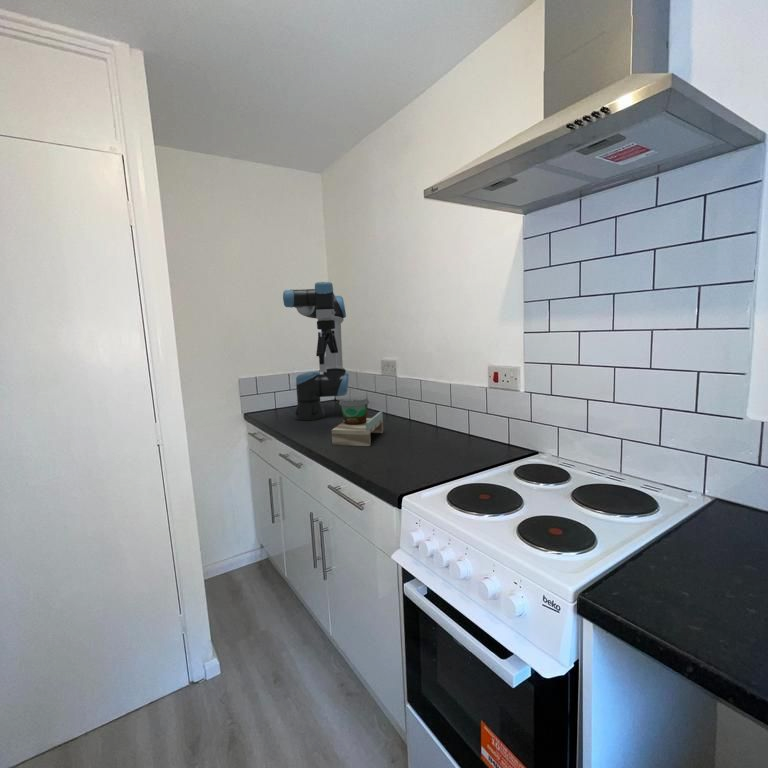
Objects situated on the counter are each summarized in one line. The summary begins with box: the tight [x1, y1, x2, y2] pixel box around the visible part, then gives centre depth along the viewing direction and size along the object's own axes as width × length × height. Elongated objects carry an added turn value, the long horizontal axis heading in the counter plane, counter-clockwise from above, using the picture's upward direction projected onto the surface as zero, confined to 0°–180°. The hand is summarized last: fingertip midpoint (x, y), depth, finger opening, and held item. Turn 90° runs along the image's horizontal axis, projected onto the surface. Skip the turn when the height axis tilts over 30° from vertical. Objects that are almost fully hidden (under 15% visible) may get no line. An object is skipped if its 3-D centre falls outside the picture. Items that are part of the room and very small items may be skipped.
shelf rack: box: [331, 410, 384, 447], centre depth 171 cm, size 22×15×9 cm
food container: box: [338, 397, 370, 425], centre depth 170 cm, size 12×6×10 cm, turn 91°
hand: (328, 369), depth 179 cm, fingers open, 13 cm apart
